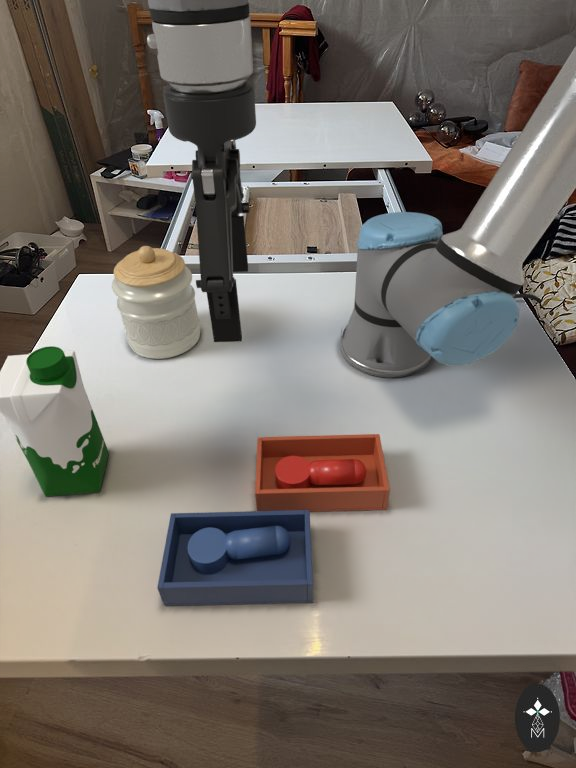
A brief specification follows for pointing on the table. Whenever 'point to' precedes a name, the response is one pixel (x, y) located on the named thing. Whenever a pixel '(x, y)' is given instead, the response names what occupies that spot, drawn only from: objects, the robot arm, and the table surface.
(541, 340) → the table surface
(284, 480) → the red disc-headed bar
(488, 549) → the table surface
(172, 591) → the bin blue
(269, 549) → the blue toy rattle
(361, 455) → the bin red
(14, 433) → the milk carton
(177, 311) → the jar
